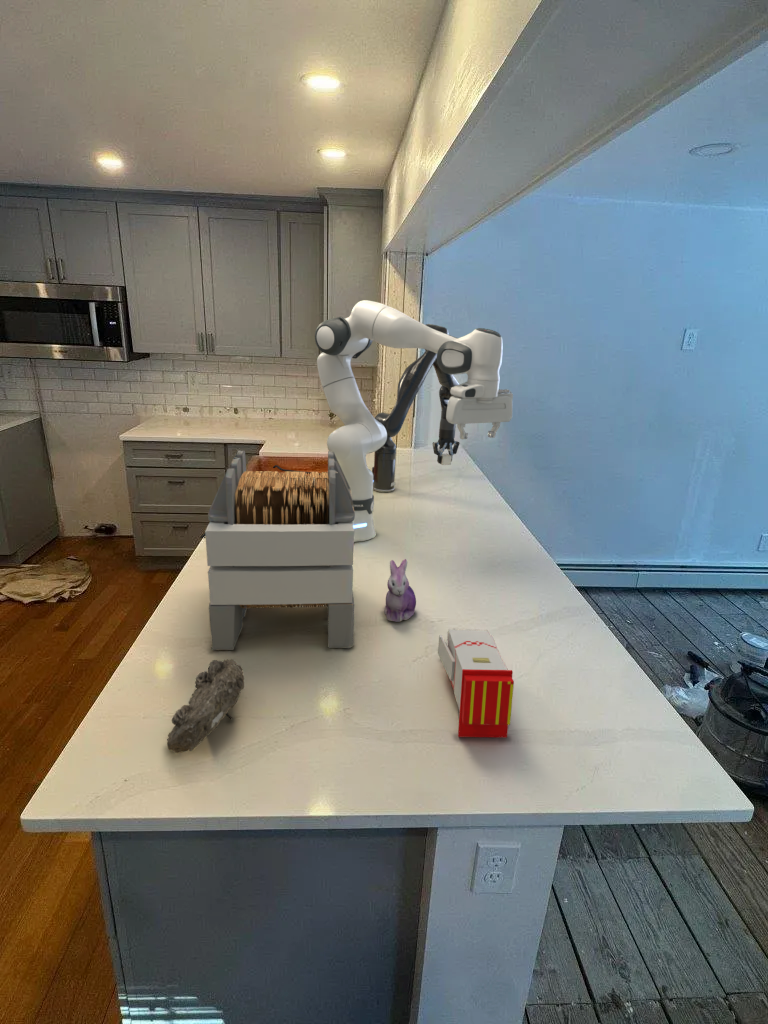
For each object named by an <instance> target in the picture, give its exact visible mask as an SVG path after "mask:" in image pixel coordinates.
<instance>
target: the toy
mask: <svg viewBox="0 0 768 1024" xmlns="http://www.w3.org/2000/svg"><path fill="white" fill-rule="evenodd" d="M446 640H447V643H446V641H445V639H444V636H443V635H442V634H439V637H438V646H437V656H438V657H439V659H440V661H441V663H442V666H443V668H444V670H445V672H446V674H447V677H448V679H449V681H450V684H451V687H452V690H453V693H454V697H455V701H456V705H457V708H458V711H459V714H458V715H459V716H458V730H457V731H458V732H457V737H458V738H508V731H509V726H510V725H511V717H512V707H513V697H514V696H513V695H514V684H515V680H514V679H513V673H514V671H513V670H512V669H508V667H507V665H506V662H505V661H504V659H503V658H502V655H501V653H500V651H499V649H498V647H497V643H496V639H495V637H494V635H493V634H491V632H490V631H489V629H467V628H466V629H465V628H463V629H461V628H460V629H459V628H448V630H447V639H446Z"/></svg>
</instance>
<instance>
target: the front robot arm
mask: <svg viewBox="0 0 768 1024" xmlns="http://www.w3.org/2000/svg"><path fill="white" fill-rule="evenodd" d="M314 342H315V344H316V347H317V348H318V350H319V351H320V352H321V353H320V354H319V355H318V356H317V359H316V367H317V372H318V377H319V381H320V385H321V387H322V391H323V393H324V396H325V399H326V402H327V405H328V407H329V410H330V412H331V413H332V415H335V416H337V417H338V418H339V420H340V421H341V422H342V423H343V425H342V426H339V427H338V428H337V429H334V430H333V431H332V432H331V433H330V434H329V435H328V437H327V440H326V446H327V447H326V448H327V450H328V451H331V452H334V454H335V456H336V458H337V460H338V462H339V465H340V467H341V469H342V471H343V473H344V475H345V478H346V480H347V482H348V484H349V486H350V488H351V494H352V500H353V506H354V511H355V519H354V520H353V527H354V543H357V542H365V541H368V540H372V539H373V538H375V537H376V535H377V532H376V528H375V523H374V513H373V512H374V509H375V496H374V490H373V473H372V469H369V467H368V464H367V455H370V454H372V453H375V451H377V450H378V449H379V448H381V447H382V446H383V445H384V444H385V442H386V440H387V432H386V429H385V427H384V426H383V425H382V424H381V423H380V422H378V421H377V420H376V419H375V417H374V416H373V414H372V412H371V411H370V410H369V408H368V407H367V405H366V403H365V402H364V399H363V397H362V395H361V392H360V389H359V386H358V384H357V381H356V377H355V374H354V371H353V369H352V365H351V362H352V359H358V358H359V357H360V356H361V355H362V354H363V353H364V352H365V351H367V350H368V349H369V348H370V347H371V346H372V343H373V342H374V343H377V344H379V345H382V346H384V347H387V348H391V349H392V348H393V349H421V350H425V349H426V350H429V351H432V352H434V353H437V363H438V366H439V368H440V369H441V370H442V371H443V372H445V373H447V374H451V375H454V376H457V375H464V374H466V375H467V380H466V381H465V382H463V383H459V385H457V386H454V387H452V388H451V391H450V393H451V395H454V396H452V397H450V399H449V401H448V406H447V412H446V419H447V421H448V422H449V423H452V424H456V428H457V430H458V431H459V439H460V440H468V435H469V433H468V432H466V431H465V428H466V424H467V425H468V424H469V425H470V424H491V425H492V427H491V429H490V430H488V431H487V438H490V439H493V438H496V436H497V435H496V433H497V432H498V430H499V428H500V427H501V423H509V422H510V421H512V419H513V398H514V394H513V392H512V391H511V390H510V389H508V388H505V389H502V388H501V389H500V382H501V381H500V379H501V378H500V377H501V376H500V368H501V366H502V364H503V363H502V362H503V350H504V349H503V348H504V347H503V337H502V335H501V334H500V332H498V331H496V330H493V329H489V328H483V327H478V328H474V329H473V330H472V331H471V332H469V333H468V334H466V335H463V336H461V337H456V336H453V335H451V334H449V335H448V334H445V333H443V332H440V331H438V330H435V329H433V328H430V327H428V326H426V324H424V323H422V322H421V321H418V320H416V319H415V318H413V317H411V316H410V315H408V314H406V313H404V312H403V311H400V310H399V309H396V308H394V307H392V306H390V305H387V304H384V303H382V302H379V301H373V300H367V299H363V300H360V301H358V302H357V303H355V305H354V306H353V307H352V309H351V312H350V314H349V316H348V317H344V316H337V317H333V318H329V319H326V320H324V321H322V322H321V323H320V324H318V326H316V328H315V331H314ZM328 451H327V452H328ZM199 538H200V539H204V538H206V536H205V532H204V533H203V534H202V535H201V536H200V537H199Z"/></svg>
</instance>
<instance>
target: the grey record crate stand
mask: <svg viewBox="0 0 768 1024" xmlns="http://www.w3.org/2000/svg"><path fill="white" fill-rule="evenodd" d="M246 461H247V459H246V450H240V449H238V450H237V452H236V454H235V456H234V457H233V458H232V461H231V463H230V465H229V467H228V468H227V469H226V472H225V473H224V476H223V478H222V480H221V483H220V486H219V487H218V489H217V491H216V494H215V496H214V498H213V501H212V503H211V504H210V508H209V509H208V512H207V518H208V521H209V523H208V525H207V527H206V529H205V531H204V533H205V549H206V565H207V567H209V569H208V571H207V577H208V592H209V603H208V616H209V617H208V618H209V630H210V636H211V647H210V649H211V651H218V652H219V650H222V651H228V650H229V651H234V649H235V647H236V645H237V642H238V640H239V636H240V634H241V632H242V629H243V619H245V618H246V613H247V609H252V608H253V609H267V608H268V609H273V608H275V609H276V608H278V609H279V608H282V609H283V608H284V609H285V608H290V609H291V608H317V607H318V608H323V607H324V608H326V611H327V613H326V614H327V642H328V643H327V647H328V649H333V648H334V649H335V648H336V649H351V648H352V647H354V636H355V635H354V633H355V628H354V627H355V599H354V598H355V597H354V591H353V589H354V588H353V587H354V586H353V585H354V567H353V566H354V552H355V551H354V549H355V547H354V546H355V542H354V527H353V520H354V519H355V511H354V506H353V500H352V494H351V488H350V486H349V484H348V482H347V480H346V478H345V475H344V473H343V471H342V469H341V467H340V465H339V462H338V460H337V458H336V456H335V454H334V452H331V451H327V471H321V472H319V471H303V472H288V471H287V472H286V471H284V472H279V471H277V470H276V471H273V470H272V471H271V470H265V471H263V470H256V471H253V470H247V462H246ZM307 472H308V474H307ZM309 472H310V474H309ZM319 473H320V475H319Z"/></svg>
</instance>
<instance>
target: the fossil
mask: <svg viewBox="0 0 768 1024" xmlns="http://www.w3.org/2000/svg"><path fill="white" fill-rule="evenodd" d="M243 670H244V669H243V667H242V665H240V664H237V662H236V661H235V660H234V659H232V658H231V659H227V658H226V659H224V660H223V661H222V660H217V659H212V660H211V661H210V663H209V665H208V666H207V671H201V672H199V673H198V674H197V675H196V676H195V680H194V684H195V685H194V687H195V689H194V690H193V693H192V694H191V697H190V698H189V700H188V704H184V705H182V706H181V707H180V709H177V710H176V711H175V713H174V715H173V716H172V718H171V723H172V724H173V727H172V730H171V731H170V732H168V734H167V738H166V741H167V742H166V745H167V749H168V750H169V751H173V752H174V753H176V754H178V753H182V752H188V751H189V752H192V751H193V750H195V748H196V747H197V746H199V744H200V743H201V742H203V741H204V740H205V739H206V738H207V737H208V736H209V735H210V734H211V733H212V732H214V730H215V729H217V727H218V726H219V724H220V722H221V721H222V720H223V719H224V718H225V716H226V717H227V719H229V720H233V717H232V715H230V714H229V710H230V709H231V708H234V706H235V704H236V703H237V702H238V699H239V697H240V695H241V693H242V691H243V690H245V689H244V688H245V675H244V671H243Z"/></svg>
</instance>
